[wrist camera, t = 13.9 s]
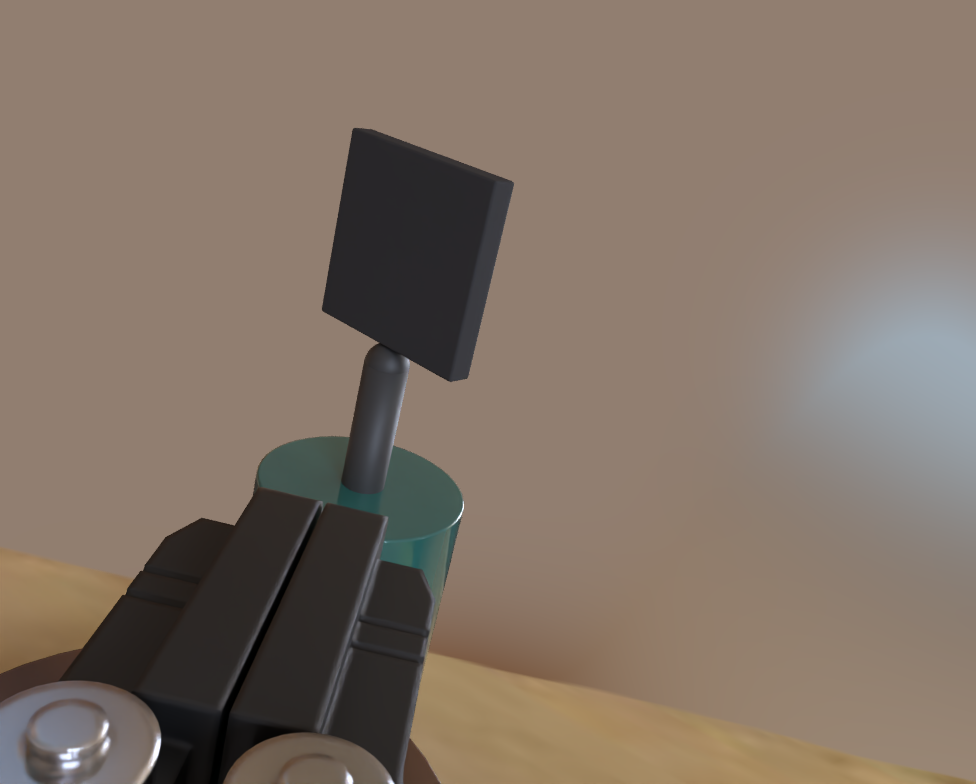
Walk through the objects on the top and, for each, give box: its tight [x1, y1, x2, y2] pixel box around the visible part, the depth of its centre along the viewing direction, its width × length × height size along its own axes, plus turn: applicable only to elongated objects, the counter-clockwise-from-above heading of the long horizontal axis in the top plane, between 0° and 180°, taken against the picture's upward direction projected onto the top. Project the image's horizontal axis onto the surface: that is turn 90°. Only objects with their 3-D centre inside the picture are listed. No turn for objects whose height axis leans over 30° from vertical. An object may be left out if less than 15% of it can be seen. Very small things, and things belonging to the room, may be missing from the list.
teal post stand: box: [0, 128, 514, 784], centre depth 22 cm, size 17×17×20 cm
